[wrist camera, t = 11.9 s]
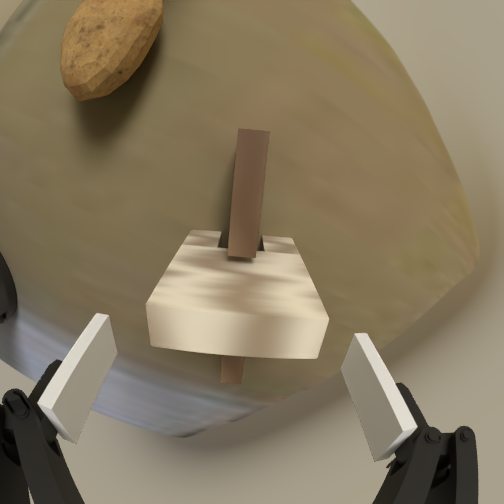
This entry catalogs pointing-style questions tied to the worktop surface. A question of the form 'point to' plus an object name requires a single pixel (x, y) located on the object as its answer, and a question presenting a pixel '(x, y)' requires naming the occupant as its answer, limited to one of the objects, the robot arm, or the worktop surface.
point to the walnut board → (245, 216)
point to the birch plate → (237, 301)
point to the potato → (107, 44)
